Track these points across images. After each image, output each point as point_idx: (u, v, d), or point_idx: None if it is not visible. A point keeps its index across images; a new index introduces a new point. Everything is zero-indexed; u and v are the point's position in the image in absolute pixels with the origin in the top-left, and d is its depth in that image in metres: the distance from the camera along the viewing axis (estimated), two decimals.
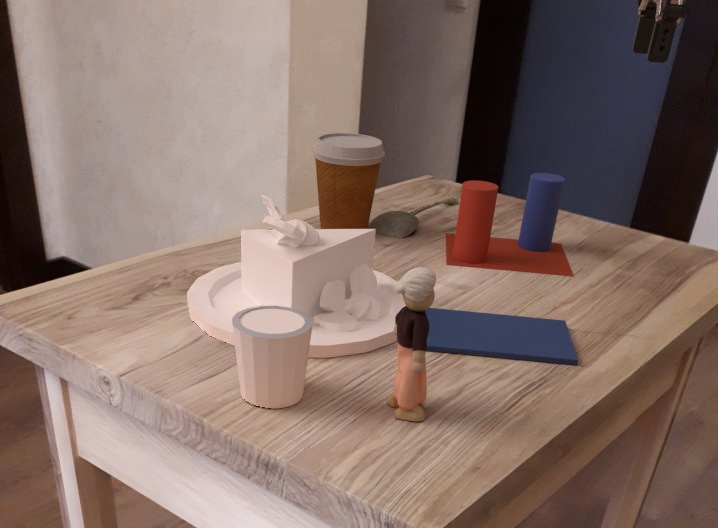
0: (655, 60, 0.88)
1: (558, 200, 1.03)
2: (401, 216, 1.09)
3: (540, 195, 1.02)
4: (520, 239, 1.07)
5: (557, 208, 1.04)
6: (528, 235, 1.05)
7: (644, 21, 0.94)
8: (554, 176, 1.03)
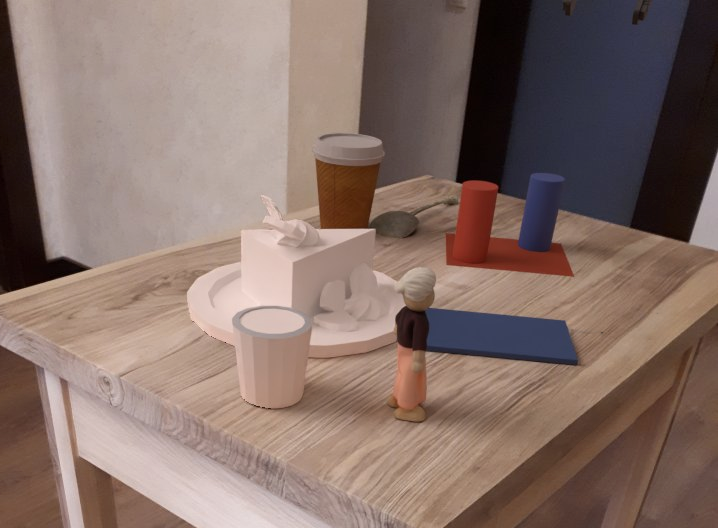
0: (565, 10, 1.02)
1: (558, 200, 1.03)
2: (401, 216, 1.09)
3: (540, 195, 1.02)
4: (520, 239, 1.07)
5: (557, 208, 1.04)
6: (528, 235, 1.05)
7: None
8: (554, 176, 1.03)
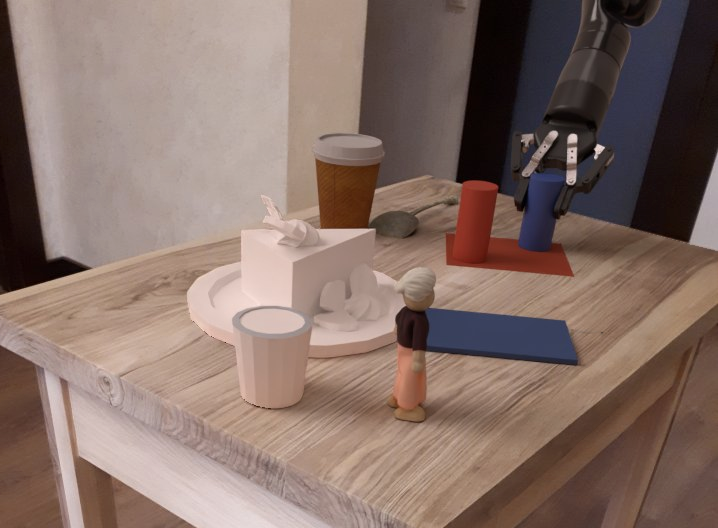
0: (517, 207, 1.05)
1: None
2: (401, 216, 1.09)
3: (540, 195, 1.02)
4: (520, 239, 1.07)
5: None
6: (528, 235, 1.05)
7: None
8: (554, 176, 1.03)
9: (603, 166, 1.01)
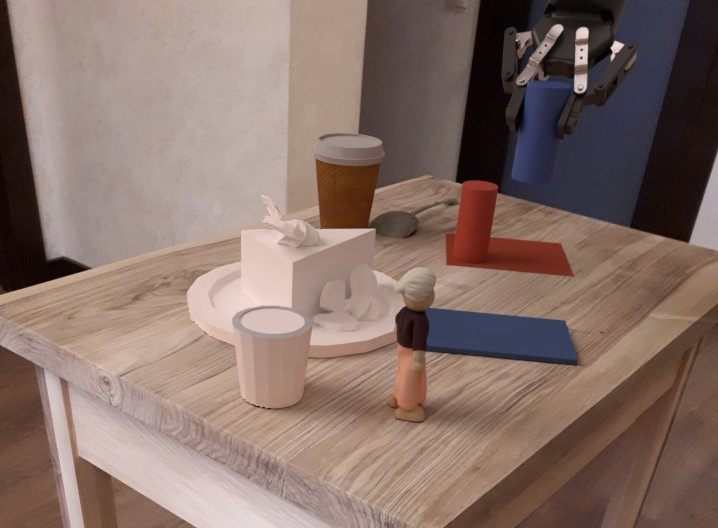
0: (509, 126, 0.81)
1: None
2: (401, 216, 1.09)
3: (539, 107, 0.78)
4: (514, 169, 0.83)
5: None
6: (524, 163, 0.81)
7: None
8: (558, 83, 0.79)
9: (622, 68, 0.77)
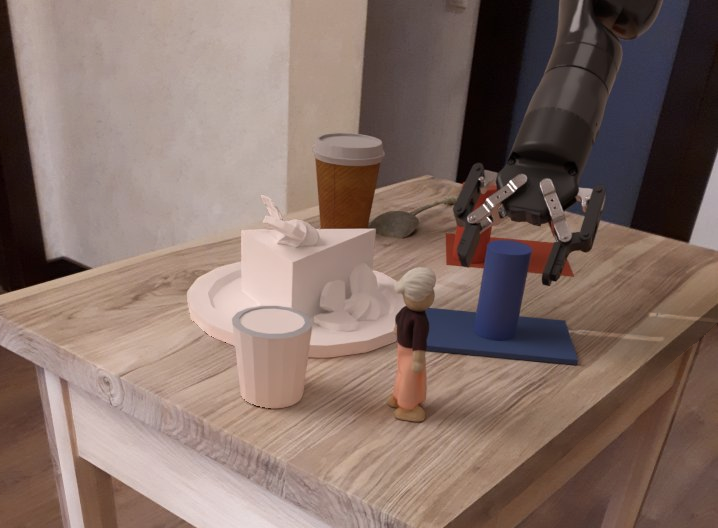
0: None
1: (523, 277, 0.79)
2: (401, 216, 1.09)
3: (499, 271, 0.78)
4: (476, 323, 0.83)
5: (523, 286, 0.80)
6: (485, 320, 0.81)
7: None
8: (518, 245, 0.79)
9: (599, 212, 0.77)
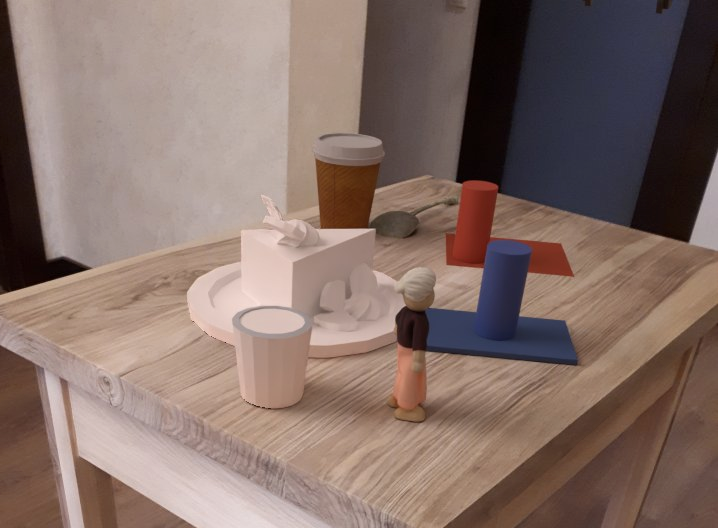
0: (585, 0, 0.97)
1: (523, 277, 0.79)
2: (401, 216, 1.09)
3: (499, 271, 0.78)
4: (476, 323, 0.83)
5: (523, 286, 0.80)
6: (485, 320, 0.81)
7: None
8: (518, 245, 0.79)
9: None
